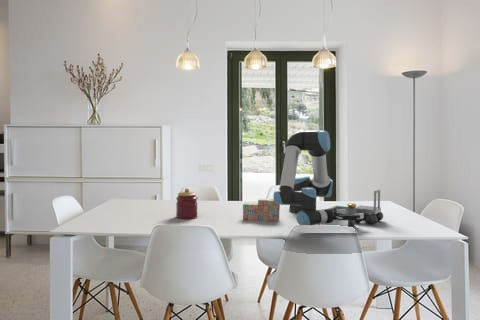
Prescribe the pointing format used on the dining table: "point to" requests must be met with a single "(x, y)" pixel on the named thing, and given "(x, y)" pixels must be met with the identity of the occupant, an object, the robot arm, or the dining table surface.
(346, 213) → the tray
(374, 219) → the trolley
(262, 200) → the stack of blocks
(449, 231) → the dining table surface
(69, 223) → the dining table surface
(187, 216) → the canister
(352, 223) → the stop pin
